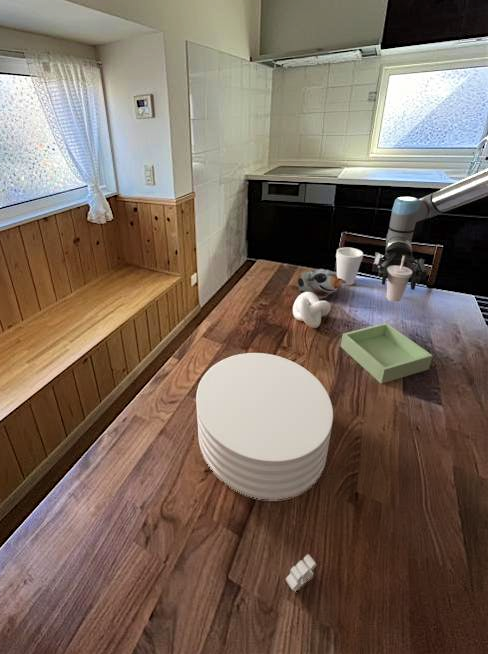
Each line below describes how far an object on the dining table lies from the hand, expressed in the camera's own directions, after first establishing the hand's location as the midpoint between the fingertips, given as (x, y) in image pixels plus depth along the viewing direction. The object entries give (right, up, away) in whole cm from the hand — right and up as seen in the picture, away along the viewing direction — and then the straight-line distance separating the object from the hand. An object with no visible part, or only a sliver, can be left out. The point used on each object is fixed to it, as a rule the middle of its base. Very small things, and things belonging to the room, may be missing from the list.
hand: (398, 283), depth 94 cm
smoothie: (+3, -5, +7) cm, 10 cm away
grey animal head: (-9, -7, +35) cm, 36 cm away
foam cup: (+4, -3, +42) cm, 42 cm away
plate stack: (-43, -33, -18) cm, 57 cm away
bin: (-4, -21, +2) cm, 22 cm away
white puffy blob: (-17, -14, +19) cm, 30 cm away
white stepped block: (-42, -44, -41) cm, 73 cm away
